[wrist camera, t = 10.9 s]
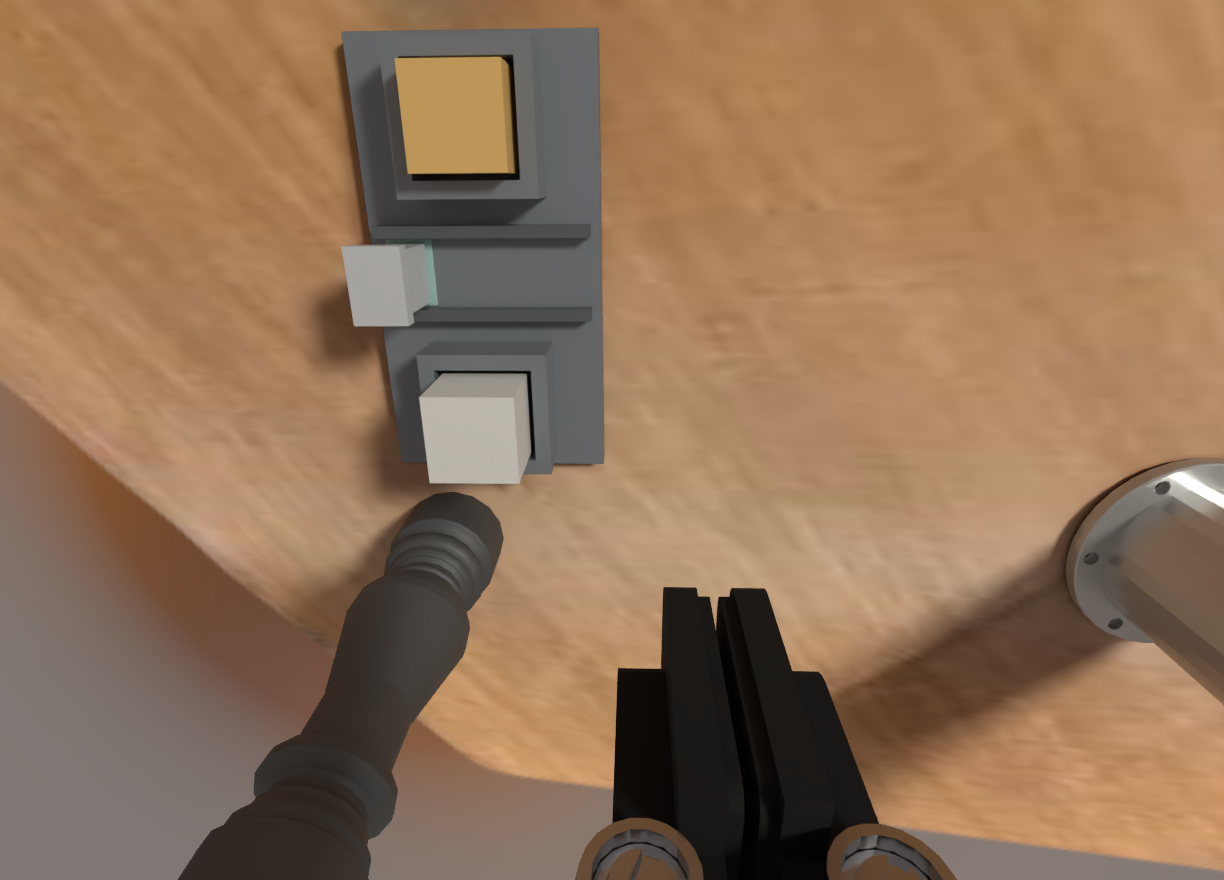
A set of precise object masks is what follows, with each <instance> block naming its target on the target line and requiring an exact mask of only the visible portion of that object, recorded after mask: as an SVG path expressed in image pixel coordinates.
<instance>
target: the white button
mask: <svg viewBox="0 0 1224 880" xmlns="http://www.w3.org/2000/svg"><path fill="white" fill-rule="evenodd" d="M419 401H420V409H421V417H422V425H423V433H424V441H425V449H426V457H427V465H428V473H429V482H430V483H476V484H519V483H520V481H521V478H522V475H523V473H524V470H525V467H526V465H527V462H528V459H529V457H530V454H531V437H530V419H529V402H528V385H527V374H483V373H443V374H442V375H441V376H440V377H439V378H438V379H437V380H436V381H435V382H434V383H433V384H432V385H431V386H430V387H429V388H428V389H427V390H426V391H425V392H424V393H423V394H422V395H421V396H420V397H419Z"/></svg>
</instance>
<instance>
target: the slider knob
mask: <svg viewBox="0 0 1224 880" xmlns="http://www.w3.org/2000/svg"><path fill="white" fill-rule="evenodd" d="M341 247H342V253H343V260H344V266H345V272H346V279H347V285H348V292H349V298H350V304H351V311H352V317H353V323H354V326H410V325H412V324H413V323H414V317H413V313H414V312H416V311H417V310H419V309H420V308H422V307H424V306H425V305H427V304H429V303H430V302H431V298H430V289H429V280H428V271H427V262H426V253H425V244H384V245H346V246H341Z"/></svg>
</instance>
